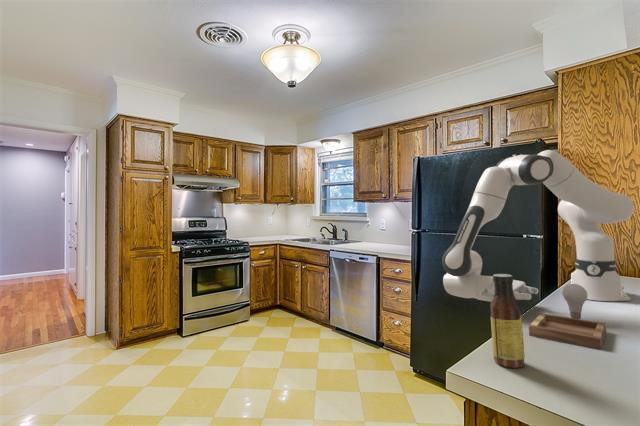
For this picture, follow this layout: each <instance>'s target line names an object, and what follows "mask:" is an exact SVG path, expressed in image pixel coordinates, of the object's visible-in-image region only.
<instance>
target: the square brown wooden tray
mask: <svg viewBox="0 0 640 426" xmlns="http://www.w3.org/2000/svg"><path fill="white" fill-rule="evenodd" d="M606 333H607V332H606V322H601V321H595V320H589V319H582V318H580V319H576V318H571V317H568V316H563V315H555V314H549V313H540V314H539V315H538V316H537V317H536V318H535V319H534V320H533V321H532V322H531V324H530V325H528V335H529V336H531V337H536V338H540V337H541V339H545V338H546V340H551V339H552V340H551V341H556V340H557V341H558V342H561V341H562V343H566V342H567V343H568V344H571V343H572V344H573V345H576V344H577V345H578V346H581V345H583V346H582V347H586V346H588V347H587V348H591V347H592V348H593V349H597V350H601V348H602V345H603V342H604V339H605V336H606ZM557 341H556V342H557ZM577 345H576V346H577Z"/></svg>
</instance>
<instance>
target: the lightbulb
mask: <svg viewBox="0 0 640 426" xmlns="http://www.w3.org/2000/svg"><path fill="white" fill-rule="evenodd" d="M562 296H563V299H564V300H565V302H566V303H567V306H568V311H569V315H570V318H576V319H582V312H583V306H584V304H585V302H586V301H587V300H588V299H587V292H586V290H585V289H584V288H583V287H582V286H580V285H577V284H571V283H569V284H567V285H565V286H564V287H563V289H562Z"/></svg>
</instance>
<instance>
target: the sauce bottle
mask: <svg viewBox="0 0 640 426" xmlns="http://www.w3.org/2000/svg"><path fill="white" fill-rule="evenodd" d="M492 276H493V281H494V287H495V291H494V293H495V295H494V298H493V300H492V301H491V302H490V305H489V307H490V329H491V339H492V341H491V343H492V354H493V360H494V361H495V363H497V364H498V365H500V366H502V367H505V368H510V369H511V368H513V369H517V368H521V367H524V365H525V356H526V355H525V345H524V332H523V321H522V319H523V318H522V312H521V308H520V306H519V304H518V302H517V301H518V300H516V299H515V296H514V293H513V285H512V283H513V280H514V277H513V275H511V274H508V273H494V274H493V275H492Z"/></svg>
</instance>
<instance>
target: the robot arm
mask: <svg viewBox="0 0 640 426" xmlns="http://www.w3.org/2000/svg"><path fill="white" fill-rule="evenodd" d="M541 183H542V184H543V185H544V186H545V187H546V188H547V189H548V190H550V191H551V192H552V194H554V195H555V197H557V199H559V200H560V201H559V203H558V206H557V213H558V216H559V217H560V218H561V219H562V220H563V221H565V222H566V223H567V225H568V226H569V227H570V230H571V231H572V233H573V237H574V240H575V250H576V253H575V254H576V258H575V262H574V264H575V270H574V271H572V272H571V274H570V284H577V285H580V286H582V287H583V288H584V289H585V290H586V292H587V299H586V300H590V301H597V302H599V301H600V302H619V301H622V302H623V301H624V302H625V301H627V302H628V301H630V302H631V297H630V296H629V295H628V294H627V293H626V292H625V291H624V288H625V287H624V286H623V279H622V278H623V277H622V276H621V275H620V274H619V273H617V262H616V260H615V252H614V251H615V245H614V243H615V242H614V240H613V238H612V237H611V236H610V235H608V234H607V233H605V232H604V231H603V230H602V228H601V226H600V224H615V223H621V222H625V221H628V220H629V219H631V217H633V214H634V212H635V205H634V201H633V200H632V198H631V197H630V196H628V195H626V194H623V193H619V192H615V191H613V190H610V189H608V188H606V187H603V186H602V185H601V184H600V185H599V183H596V182H594V181H592V180H590V179H589V178H588V177H587V176H585V175H584V173H582V172H581V171H580V170H579V169H578V168H577V167H576V166H575V165H574V164H573V163H572V162H571V161H570V160H569V159H567V158H566V157H565V156H564V155H562V154H560V153H559V152H556V151H555V150H552V149H545V150H543V151H542V150H541V152H539V153H537V154H519V155H515V156H509V157H508V156H507V157H505V158H504V157H503V158H502V159H501V160H500V161H499V162H497V163H496V165H495V166H491V167H487V168H486V169H485V170H484V171H483V173H482V174H481V176H480V178H479V180H478V182H477V184H476V187H475V190H474V192H473V194H472V197H471V200H470V203H469V205H468V208H467V210H466V212H465V214H464V217H463V218H462V221H461V222H460V225H459V227H458V230H457V232H456V235H455V237H454V239H453V241H452V243H451V245H449V247H448V248H447V249H446V250H445V251H444V253H443V254H442V258H441V265H442V267H443V269H444V271H445V272H446V273H445V274H444V275H443V277H442V285H443V288H444V290H445V291H446V293H447V294H449V295H451V296H454V297H458V298H463V299H475V300H478V301H485V302H490V303H491V301H492V300H493V298H494V295H495V293H494V291H495V287H494V281H493V275H482V269H483V264H484V263H483V259H482V256H481V254H479V252H477V251H475V250H472V248H473V246H474V243H475V240H476V238H477V236H478V234H479V232H480V229H481V228H482V227H483V226H484V225H486V223H488V222H489V223H490V221H493V220H495V219H497V218H498V217H499V215H500V214H501V213H502V210H503V209H504V207H505V204H506V201H507V199H508V194H509V192H510V190H511V188H512V187H513V186H534V185H539V184H541ZM512 285H513V293H514V296H515V299H516V301H520V300H521V301H523V300H526V301H530V300H531V299H532V294H533V295H534V294H535V295H537V294H538V293H539V289H538V287H532V286H528V285H526V282H525V281H522V280H516V279H513V283H512Z"/></svg>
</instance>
